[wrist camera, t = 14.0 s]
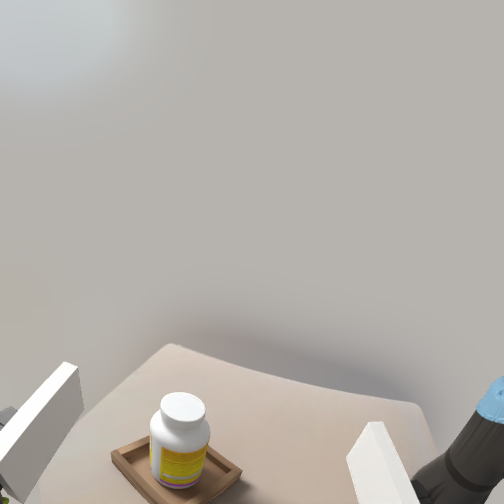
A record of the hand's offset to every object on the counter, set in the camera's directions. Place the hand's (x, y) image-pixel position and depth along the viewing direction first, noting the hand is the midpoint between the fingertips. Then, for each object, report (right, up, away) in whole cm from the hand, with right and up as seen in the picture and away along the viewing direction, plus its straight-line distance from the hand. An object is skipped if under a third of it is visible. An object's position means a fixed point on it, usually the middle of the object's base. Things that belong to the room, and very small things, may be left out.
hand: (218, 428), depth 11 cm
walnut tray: (-9, -21, +19) cm, 30 cm away
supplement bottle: (-8, -21, +18) cm, 29 cm away
